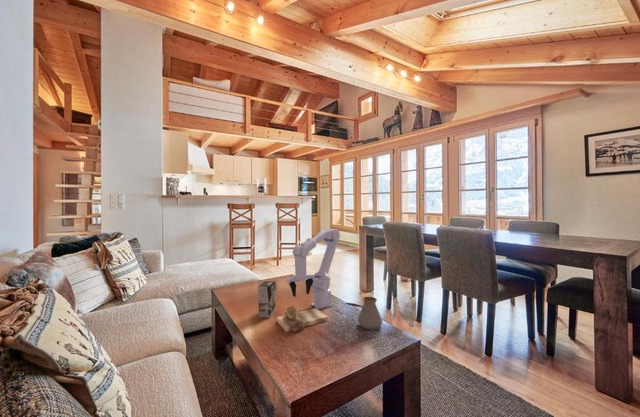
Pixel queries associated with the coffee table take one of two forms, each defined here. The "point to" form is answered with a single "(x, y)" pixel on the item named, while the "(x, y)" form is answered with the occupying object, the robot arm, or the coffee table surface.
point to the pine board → (303, 318)
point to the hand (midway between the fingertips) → (301, 294)
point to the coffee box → (267, 298)
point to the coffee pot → (368, 314)
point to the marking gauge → (294, 319)
